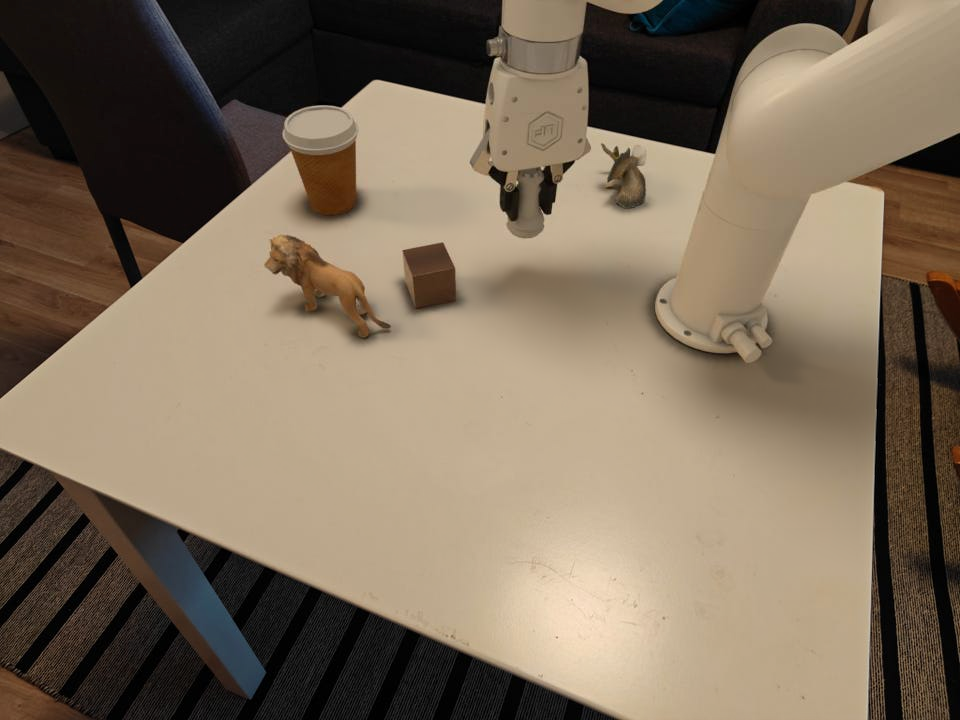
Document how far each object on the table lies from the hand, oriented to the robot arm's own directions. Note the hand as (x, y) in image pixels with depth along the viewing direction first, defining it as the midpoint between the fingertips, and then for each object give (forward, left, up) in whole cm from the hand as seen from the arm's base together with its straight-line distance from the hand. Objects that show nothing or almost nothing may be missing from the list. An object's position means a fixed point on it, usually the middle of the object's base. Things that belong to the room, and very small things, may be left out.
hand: (526, 210), depth 74 cm
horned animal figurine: (+13, -20, -9) cm, 26 cm away
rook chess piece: (0, 0, -3) cm, 3 cm away
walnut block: (0, +12, -9) cm, 15 cm away
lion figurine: (0, +24, -9) cm, 26 cm away
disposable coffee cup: (+22, +20, -9) cm, 31 cm away
